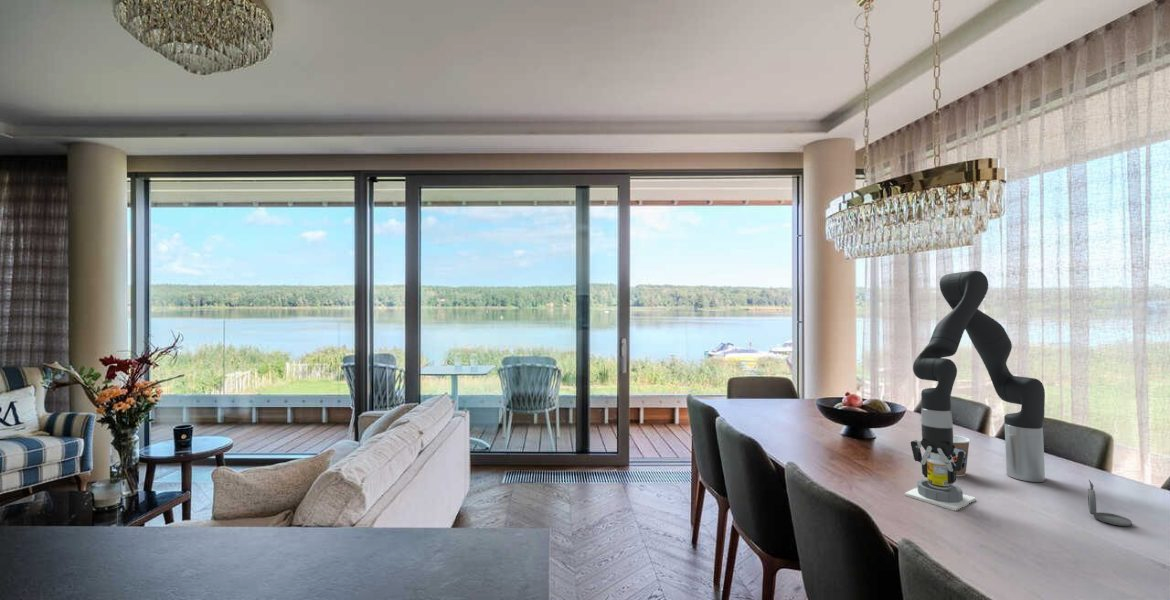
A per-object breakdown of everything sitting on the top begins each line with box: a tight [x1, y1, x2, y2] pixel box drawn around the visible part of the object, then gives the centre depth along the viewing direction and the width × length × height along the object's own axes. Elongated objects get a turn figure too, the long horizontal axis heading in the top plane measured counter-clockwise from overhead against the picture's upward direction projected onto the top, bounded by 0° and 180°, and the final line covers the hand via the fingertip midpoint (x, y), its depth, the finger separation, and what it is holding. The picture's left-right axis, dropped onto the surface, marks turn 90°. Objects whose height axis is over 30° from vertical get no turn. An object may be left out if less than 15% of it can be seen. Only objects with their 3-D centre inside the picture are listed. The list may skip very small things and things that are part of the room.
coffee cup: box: [951, 434, 971, 477], centre depth 158 cm, size 10×10×12 cm
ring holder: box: [904, 479, 977, 512], centre depth 138 cm, size 13×13×4 cm
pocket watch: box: [1087, 479, 1133, 527], centre depth 122 cm, size 8×8×10 cm
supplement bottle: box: [926, 452, 951, 489], centre depth 138 cm, size 6×6×10 cm
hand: (938, 479), depth 138 cm, fingers closed on supplement bottle, 5 cm apart
